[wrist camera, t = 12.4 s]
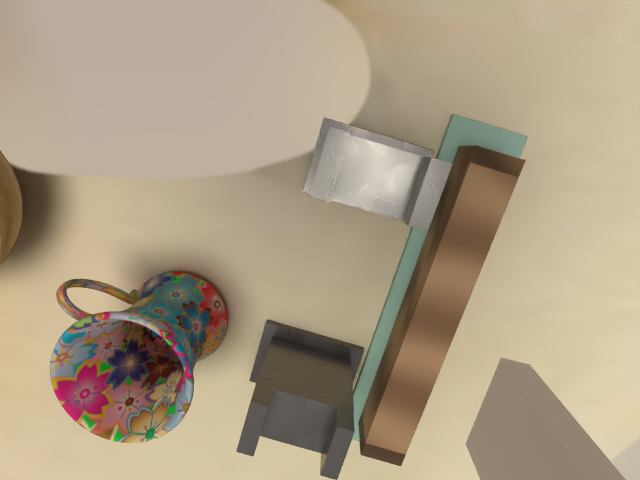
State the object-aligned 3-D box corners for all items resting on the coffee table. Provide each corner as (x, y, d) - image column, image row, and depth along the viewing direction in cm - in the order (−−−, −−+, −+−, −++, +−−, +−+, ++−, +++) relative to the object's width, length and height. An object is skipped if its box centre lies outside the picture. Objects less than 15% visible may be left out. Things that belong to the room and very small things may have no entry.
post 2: (324, 118, 31) (317, 103, 21) (432, 150, 31) (475, 150, 22) (303, 190, 32) (288, 208, 23) (407, 221, 33) (437, 252, 23)
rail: (459, 146, 31) (476, 145, 27) (501, 158, 31) (525, 160, 27) (358, 422, 36) (360, 454, 33) (394, 432, 37) (401, 466, 33)
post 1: (267, 319, 35) (240, 384, 25) (363, 347, 35) (373, 422, 26) (250, 377, 36) (219, 459, 27) (343, 403, 37) (346, 495, 27)
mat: (451, 114, 31) (453, 114, 30) (524, 137, 31) (527, 136, 30) (339, 431, 37) (339, 435, 37) (399, 448, 38) (400, 452, 37)
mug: (256, 320, 35) (222, 390, 25) (184, 379, 37) (124, 468, 27) (161, 219, 34) (82, 250, 23) (90, 286, 35) (-13, 342, 25)
